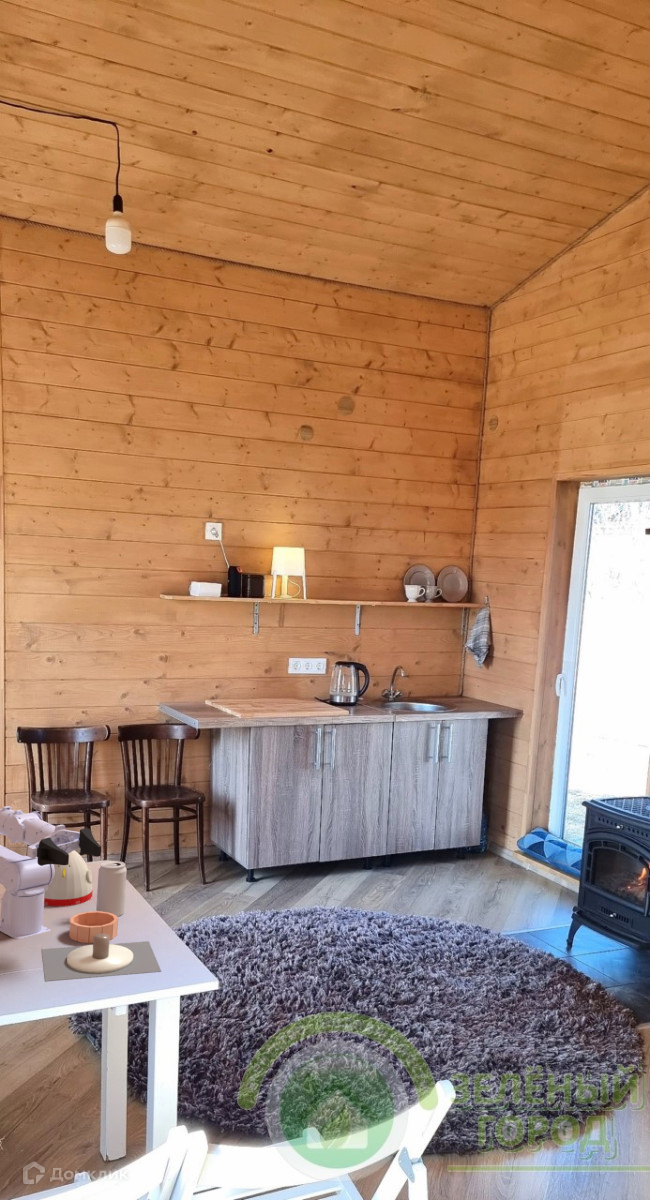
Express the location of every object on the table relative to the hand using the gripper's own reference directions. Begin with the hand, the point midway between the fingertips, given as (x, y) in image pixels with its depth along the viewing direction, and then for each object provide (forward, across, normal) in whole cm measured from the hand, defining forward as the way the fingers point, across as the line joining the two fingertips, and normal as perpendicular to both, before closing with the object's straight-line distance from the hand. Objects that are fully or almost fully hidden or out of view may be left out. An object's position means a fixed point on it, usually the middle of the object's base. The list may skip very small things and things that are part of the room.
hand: (83, 855), depth 181 cm
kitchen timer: (-34, +18, +24) cm, 45 cm away
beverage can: (-16, +19, +23) cm, 34 cm away
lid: (+6, +1, +20) cm, 21 cm away
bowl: (-7, +8, +22) cm, 25 cm away
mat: (+6, +1, +21) cm, 22 cm away
